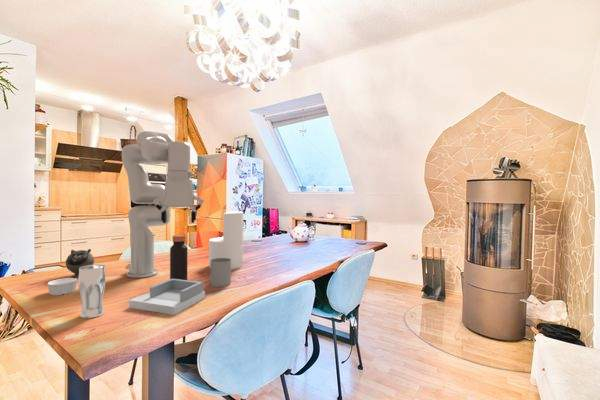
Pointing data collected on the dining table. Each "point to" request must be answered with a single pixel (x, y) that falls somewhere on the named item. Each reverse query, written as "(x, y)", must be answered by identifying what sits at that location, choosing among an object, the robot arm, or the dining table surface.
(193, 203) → the robot arm
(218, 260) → the cup
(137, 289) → the dining table surface
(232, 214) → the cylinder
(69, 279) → the ramekin
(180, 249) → the bottle
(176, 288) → the dock
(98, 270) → the beer glass
